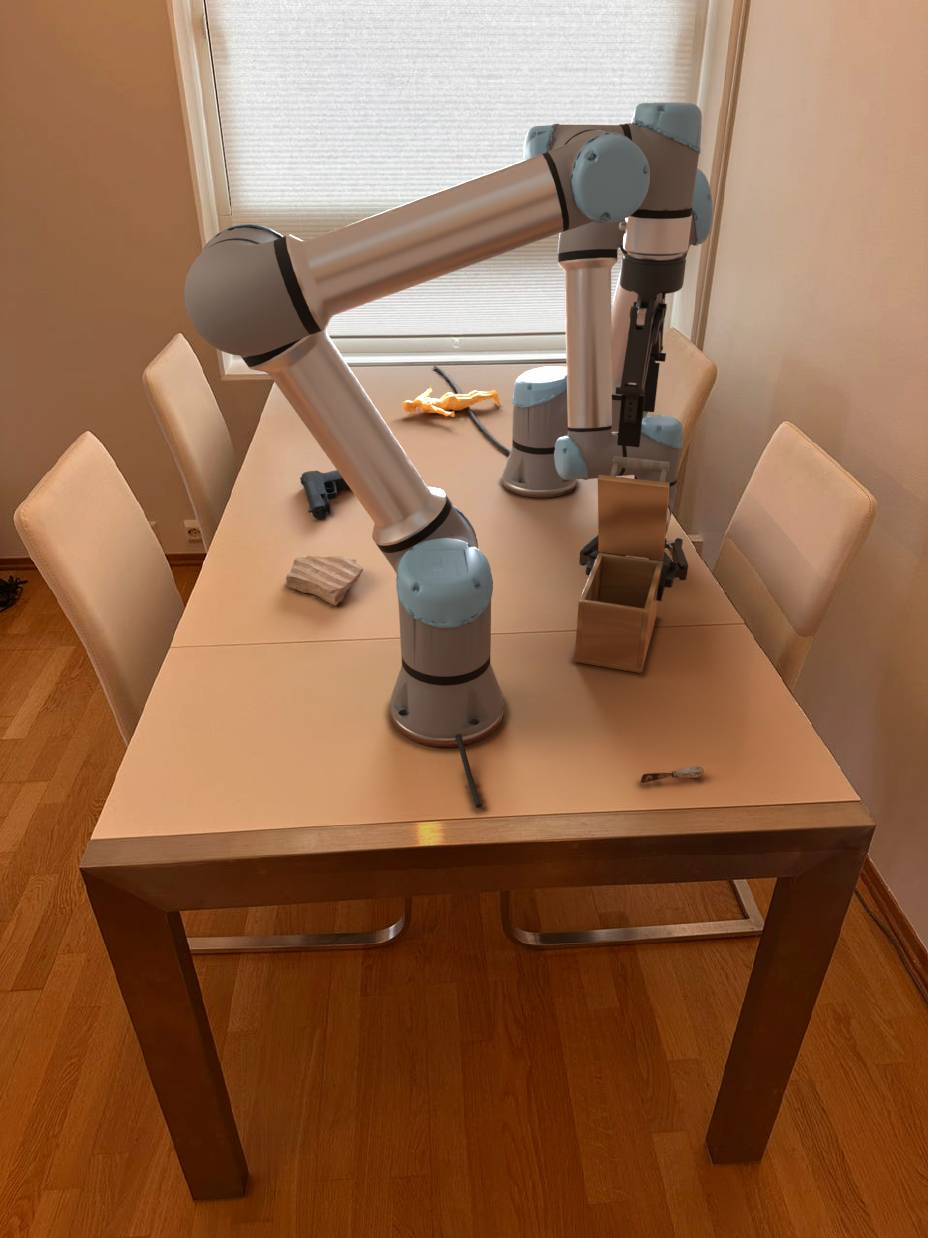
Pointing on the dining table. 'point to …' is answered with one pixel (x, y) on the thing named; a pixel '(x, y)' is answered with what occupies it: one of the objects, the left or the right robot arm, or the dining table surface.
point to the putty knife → (674, 774)
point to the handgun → (322, 490)
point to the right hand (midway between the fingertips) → (624, 587)
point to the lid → (633, 510)
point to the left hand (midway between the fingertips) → (636, 427)
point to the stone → (323, 576)
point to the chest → (617, 612)
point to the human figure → (448, 402)
